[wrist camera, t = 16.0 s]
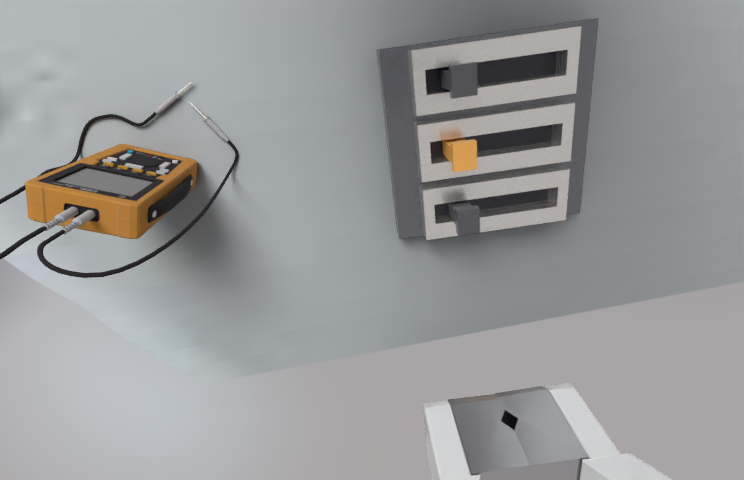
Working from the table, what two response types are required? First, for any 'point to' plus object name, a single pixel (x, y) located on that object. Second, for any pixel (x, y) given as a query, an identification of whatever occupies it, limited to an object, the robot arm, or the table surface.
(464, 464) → the robot arm
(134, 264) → the multimeter
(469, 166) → the orange breaker
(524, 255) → the table surface
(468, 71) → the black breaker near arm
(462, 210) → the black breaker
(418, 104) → the breaker board
